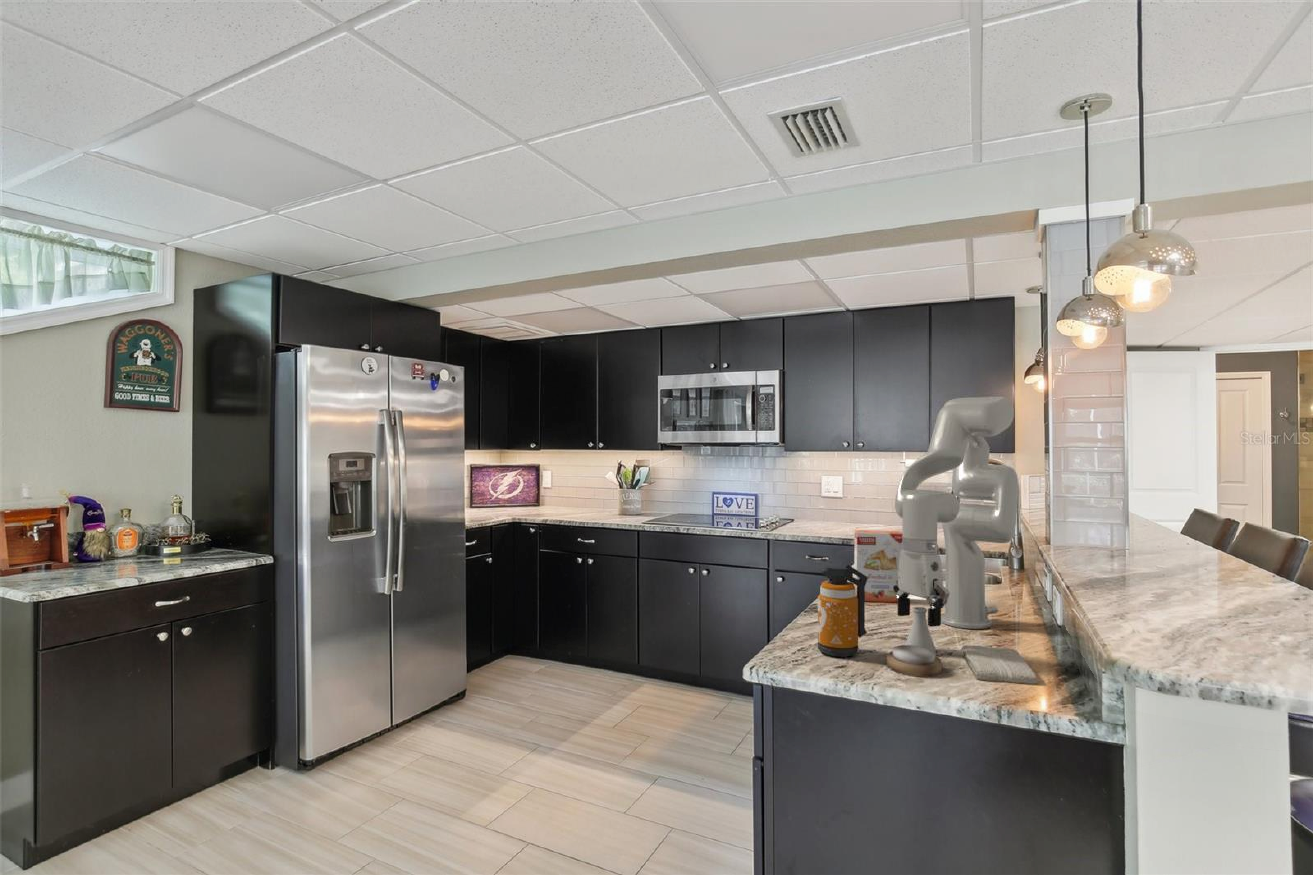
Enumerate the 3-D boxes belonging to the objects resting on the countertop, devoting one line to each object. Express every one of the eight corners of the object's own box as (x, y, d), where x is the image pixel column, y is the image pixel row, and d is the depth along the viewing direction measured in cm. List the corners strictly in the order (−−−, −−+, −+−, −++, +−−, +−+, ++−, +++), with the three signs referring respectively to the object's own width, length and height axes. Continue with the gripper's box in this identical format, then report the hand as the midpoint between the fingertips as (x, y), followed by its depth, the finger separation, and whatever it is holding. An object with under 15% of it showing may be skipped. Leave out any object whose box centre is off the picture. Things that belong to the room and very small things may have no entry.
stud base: (915, 656, 152) (915, 641, 152) (953, 672, 142) (953, 656, 142) (875, 662, 148) (875, 646, 148) (911, 679, 138) (911, 662, 138)
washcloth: (1015, 658, 152) (1015, 645, 152) (1040, 688, 134) (1040, 672, 134) (958, 654, 155) (958, 641, 155) (976, 682, 137) (976, 667, 137)
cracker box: (856, 601, 201) (856, 532, 201) (853, 596, 207) (853, 529, 207) (905, 603, 199) (905, 533, 199) (901, 598, 205) (901, 530, 205)
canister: (814, 646, 160) (814, 561, 159) (861, 646, 159) (861, 562, 159) (822, 658, 151) (822, 569, 150) (872, 659, 150) (872, 569, 150)
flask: (939, 657, 151) (939, 613, 151) (905, 655, 153) (905, 611, 153) (933, 647, 158) (933, 605, 158) (900, 645, 160) (900, 603, 160)
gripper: (961, 551, 148) (960, 629, 148) (906, 540, 165) (905, 610, 164) (934, 552, 146) (933, 631, 145) (881, 541, 162) (880, 613, 162)
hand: (918, 620), depth 155 cm, fingers open, 9 cm apart
